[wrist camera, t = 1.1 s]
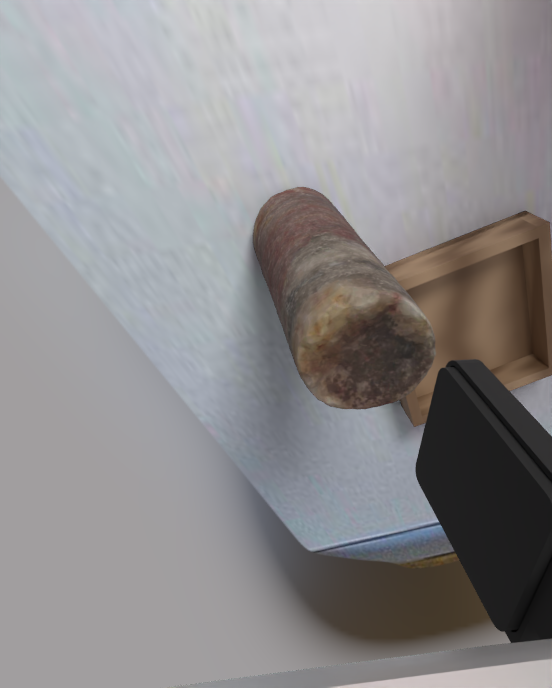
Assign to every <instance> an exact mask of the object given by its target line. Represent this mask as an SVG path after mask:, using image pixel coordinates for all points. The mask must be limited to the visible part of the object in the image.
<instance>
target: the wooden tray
mask: <svg viewBox="0 0 552 688" xmlns="http://www.w3.org/2000/svg"><path fill="white" fill-rule="evenodd" d="M384 267H385V268H386V269H387V270H388V271H389V273H390V274H392V275H393V276H394V277H395V279H396V280H397V281H398V283H399V284H400V285H401V286H402V287H403V288H404V289H405V290H406V292H407V293H408V294H409V295H410V296H411V298H412V299H413V300H414V301H415V303H416V304H417V305H418V306H419V307H420V309H421V310H422V312H423V313H424V314H425V316H426V317H427V319H428V320H429V321H430V323H431V326H432V328H433V332H434V335H435V350H436V355H435V357H434V360H433V363H432V367H431V368H430V369H429V371H428V373H427V375H426V376H425V377H424V379H423V380H422V381H421V382H420V383H419V384H418V386H417V387H416V388H415V390H414V391H412V392H411V393H410V394H409V395H407V396H405V397H403V398H402V399H400V402H401V406H402V407H403V409H404V411H405V412H406V414H407V416H408V417H409V419H410V421H411V422H412V424H413V426H414V427H416V426H418V425H421V424H424V423H426V420H427V416H428V412H429V408H430V404H431V400H432V395H433V391H434V387H435V383H436V379H437V375H438V372H439V370H440V369H441V368H445V367H446V365H447V363H448V362H449V361H451V360H470V359H477V360H480V361H481V362H483V364H484V365H485V366H486V367H487V368H488V369H489V370H490V371H491V372H492V373H493V374H494V375H495V376H496V377H497V379H498V380H499V381H500V382H501V383H502V384H503V385H504V386H505V387H506V388H507V389H508V390H509V391H511V390H514V389H516V388H519V387H522V386H524V385H527V384H529V383H532V382H535V381H537V380H540V379H543V378H545V377H548V376H551V375H552V251H551V235H550V222H548V221H546V220H544V219H541V218H539V217H537V216H535V215H533V214H531V213H529V212H527V211H523V212H521V213H518V214H516V215H513V216H511V217H508V218H506V219H503V220H501V221H498V222H496V223H493V224H490V225H488V226H485V227H483V228H480V229H478V230H475V231H473V232H470V233H468V234H465V235H463V236H460V237H458V238H455V239H452V240H450V241H447V242H445V243H442V244H440V245H437V246H435V247H432V248H430V249H427V250H425V251H422V252H420V253H417V254H415V255H412V256H409V257H407V258H404V259H402V260H399V261H397V262H394V263H392V264H389V265H387V266H384Z"/></svg>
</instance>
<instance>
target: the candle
mask: <svg viewBox="0 0 552 688" xmlns="http://www.w3.org/2000/svg"><path fill="white" fill-rule="evenodd" d="M253 243H254V249H255V252H256V255H257V258H258V261H259V263H260V266H261V270H262V273H263V276H264V278H265V280H266V283H267V286H268V288H269V291H270V293H271V296H272V299H273V302H274V305H275V307H276V310H277V314H278V316H279V319H280V321H281V324H282V327H283V330H284V333H285V336H286V339H287V342H288V344H289V347H290V350H291V353H292V356H293V358H294V362H295V364H296V367H297V369H298V372H299V374H300V377H301V379H302V380H303V381H304V383H305V385H306V387H307V388H308V389H309V390H310V392H311V393H312V394H313V395H314V396H315V397H316V398H317V399H318V400H320V401H322V402H324V403H325V404H327V405H329V406H331V407H336V408H341V409H368V408H372V407H378V406H382V405H385V404H389V403H393V402H396V401H398V400H400V399H402V398H403V397H405V396H407V395H409V394H410V393H411V392H412V391H414V390H415V388H416V387H417V386H418V384H419V383H420V382H421V381H422V380H423V379H424V377H425V376H426V375H427V373H428V371H429V369H430V368H431V367H432V363H433V360H434V357H435V355H436V350H435V335H434V332H433V328H432V326H431V323H430V321H429V320H428V319H427V317H426V316H425V314H424V313H423V312H422V310H421V309H420V307H419V306H418V305H417V304H416V303H415V301H414V300H413V299H412V298H411V296H410V295H409V294H408V293H407V292H406V290H405V289H404V288H403V287H402V286H401V285H400V284H399V283H398V281H397V280H396V279H395V277H394V276H393V275H392V274H390V273H389V271H388V270H387V269H386V268H385V267H384V265H383V264H382V262H381V261H380V260H379V259H378V258H377V257H376V256H375V255H374V253H373V252H372V251H371V250H370V249H369V247H368V246H367V245H366V244H365V243H364V242H363V241H362V239H361V238H360V237H359V236H358V234H357V233H356V232H355V231H354V229H353V228H352V227H351V226H350V224H349V223H348V222H347V221H346V219H345V218H344V217H343V216H342V215H341V213H340V212H339V211H338V210H337V209H336V208H335V207H334V205H333V204H332V203H331V202H330V201H329V200H328V199H327V198H326V197H325V196H324V195H323V194H321V193H319V192H317V191H315V190H313V189H310V188H306V187H297V188H293V189H289V190H286V191H284V192H281V193H278V194H276V195H274V196H273V197H271V198H270V199H269V200H268V201H267V202H266V203H265V204H264V205H263V206H262V208H261V209H260V211H259V214H258V216H257V218H256V221H255V224H254V232H253Z"/></svg>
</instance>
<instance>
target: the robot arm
mask: <svg viewBox="0 0 552 688" xmlns="http://www.w3.org/2000/svg"><path fill="white" fill-rule="evenodd" d="M416 476H417V480H418V482H419V484H420V486H421V488H422V490H423V492H424V494H425V496H426V498H427V500H428V501H429V503H430V505H431V507H432V509H433V511H434V513H435V515H436V517H437V518H438V520H439V522H440V524H441V526H442V528H443V530H444V532H445V534H446V535H447V537H448V539H449V541H450V543H451V545H452V547H453V549H454V551H455V552H456V554H457V556H458V558H459V560H460V562H461V564H462V566H463V568H464V569H465V571H466V573H467V575H468V577H469V579H470V581H471V583H472V584H473V586H474V588H475V590H476V592H477V594H478V596H479V598H480V599H481V602H482V603H483V605H484V607H485V609H486V611H487V613H488V615H489V616H490V618H491V620H492V622H493V624H494V625H495V627H496V628H497V629H498V630H500V631H505V632H506V634H507V636H508V638H509V640H510V641H511V643H508V644H498V645H490V646H482V647H474V648H466V649H459V650H451V651H443V652H435V653H428V654H419V655H411V656H403V657H396V658H388V659H380V660H372V661H365V662H356V663H349V664H341V665H334V666H326V667H318V668H311V669H303V670H296V671H288V672H280V673H273V674H266V675H258V676H250V677H243V678H235V679H228V680H221V681H213V682H205V683H198V684H190V685H183V686H175V687H168V688H552V436H551V435H550V434H549V433H548V432H547V431H546V430H545V429H544V428H543V427H542V426H541V425H540V424H539V422H538V421H537V420H536V419H535V418H534V417H533V416H532V415H531V414H530V413H529V412H528V411H527V410H526V409H525V407H524V406H523V405H522V404H521V403H520V402H519V401H518V400H517V399H516V398H515V397H514V396H513V395H512V394H511V392H510V391H509V390H508V389H507V388H506V387H505V386H504V385H503V384H502V383H501V382H500V381H499V380H498V379H497V377H496V376H495V375H494V374H493V373H492V372H491V371H490V370H489V369H488V368H487V367H486V366H485V365H484V364H483V362H481V361H480V360H477V359H470V360H451V361H449V362H448V363H447V365H446V367H445V368H441V369H440V370H439V372H438V375H437V379H436V383H435V387H434V391H433V395H432V400H431V404H430V408H429V412H428V416H427V420H426V425H425V429H424V433H423V437H422V441H421V445H420V450H419V454H418V458H417V462H416Z"/></svg>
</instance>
